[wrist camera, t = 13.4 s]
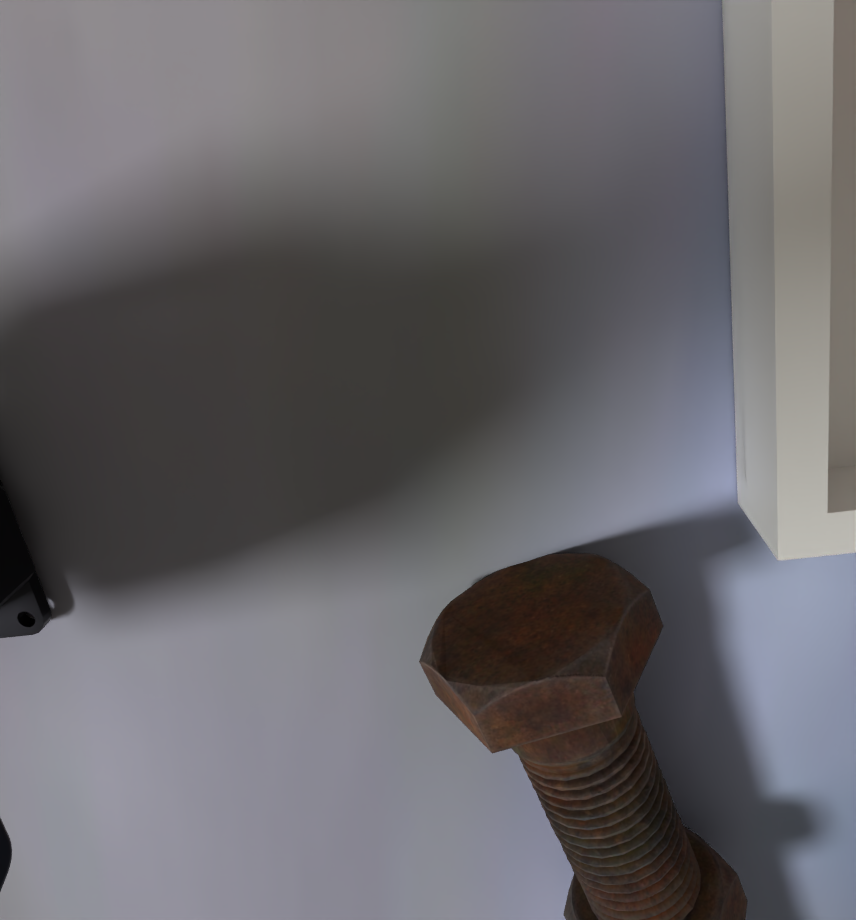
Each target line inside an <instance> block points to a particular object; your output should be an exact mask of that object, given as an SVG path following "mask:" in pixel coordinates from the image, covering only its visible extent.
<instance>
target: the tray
mask: <svg viewBox="0 0 856 920" xmlns="http://www.w3.org/2000/svg"><path fill="white" fill-rule="evenodd" d="M722 14H723V46H724V78H725V110H726V142H727V175H728V207H729V239H730V271H731V303H732V336H733V368H734V400H735V432H736V464H737V496H738V504H739V505H740V507H741V508H742V510H743V511H744V513H745V514H746V515H747V517H748V518H749V520H750V521H751V523H752V524H753V526H754V527H755V528H756V530H757V531H758V533H759V534H760V536H761V537H762V538H763V540H764V541H765V543H766V544H767V546H768V547H769V548H770V550H771V551H772V553H773V554H774V556H775V557H776V559H777V560H778V561H780V560H790V559H799V558H809V557H818V556H828V555H837V554H847V553H856V0H722Z"/></svg>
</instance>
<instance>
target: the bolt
mask: <svg viewBox="0 0 856 920" xmlns="http://www.w3.org/2000/svg"><path fill="white" fill-rule="evenodd" d="M662 628H663V624H662V621H661V619H660V616H659V613H658V611H657V608H656V605H655V603H654V600H653V597H652V595H651V592H650V589H648V588H647V587H646V586H645V585H644V584H642V583H641V582H640V581H639V580H638V579H636V578H635V577H634V576H633V575H632V574H631V573H629V572H628V571H626V570H625V569H623V568H622V567H620V566H619V565H617V564H616V563H614V562H612V561H610V560H608V559H606V558H604V557H602V556H599V555H595V554H588V553H563V554H551V555H545V556H542V557H539V558H536V559H533V560H530V561H527V562H524V563H521V564H517V565H514V566H510V567H507V568H504V569H501V570H499V571H497V572H494V573H493V574H491V575H489V576H487V577H486V578H484V579H482V580H480V581H479V582H477V583H476V584H474V585H473V586H472V587H470V588H469V589H467V590H466V591H465V592H463V593H462V594H460V595H459V596H458V597H456V598H455V599H454V600H452V601H451V602H450V603H449V604H448V605H447V606H446V607H445V608H444V609H443V611H442V612H441V614H440V615H439V617H438V618H437V620H436V621H435V623H434V625H433V627H432V630H431V632H430V634H429V636H428V638H427V641H426V644H425V646H424V649H423V652H422V655H421V658H420V661H419V662H420V664H421V666H422V668H423V670H424V672H425V674H426V676H427V678H428V680H429V682H430V684H431V686H432V688H433V690H434V692H435V694H436V696H437V697H438V698H439V699H440V700H441V701H442V702H443V703H444V704H445V705H446V706H447V707H448V708H449V709H450V710H451V711H452V712H453V713H454V714H455V715H456V716H457V717H458V718H459V719H460V720H461V721H462V722H463V723H464V725H465V726H466V727H467V728H468V729H469V730H470V731H471V732H472V733H473V734H474V735H475V736H476V737H477V738H478V739H479V740H480V741H481V742H482V743H483V744H484V745H485V746H486V747H487V748H488V749H489V750H490V751H491V752H492V753H495V752H499V751H502V750H506V749H509V748H512V749H513V750H514V752H515V753H517V754H518V755H519V758H520V760H521V762H522V764H523V767H524V769H525V771H526V772H527V774H528V777H529V779H530V781H531V782H532V785H533V788H534V789H535V791H536V793H537V795H538V798H539V800H540V802H541V805H542V807H543V809H544V810H545V813H546V816H547V818H548V820H549V821H550V824H551V826H552V828H553V830H554V832H555V834H556V836H557V837H558V839H559V841H560V843H561V845H562V848H563V851H564V852H565V854H566V856H567V859H568V861H569V862H570V864H571V866H572V869H573V871H574V876H573V879H572V882H571V885H570V888H569V892H568V896H567V901H566V906H565V910H564V916H565V918H566V920H745V917H746V907H747V899H746V896H745V893H744V891H743V888H742V885H741V883H740V880H739V878H738V875H737V873H736V872H735V871H734V870H733V869H732V868H731V867H730V866H729V865H728V864H727V863H726V862H725V860H724V859H723V858H722V857H721V856H720V855H719V854H718V853H717V852H716V851H715V850H713V849H712V848H711V847H710V846H709V845H708V844H707V843H706V842H705V841H704V840H703V839H702V838H700V837H699V836H698V835H696V834H695V833H693V832H692V831H691V830H689V829H688V828H686V827H684V826H683V824H682V822H681V819H680V817H679V815H678V813H677V811H676V808H675V806H674V804H673V801H672V798H671V796H670V793H669V790H668V788H667V785H666V782H665V779H664V778H663V776H662V772H661V770H660V768H659V766H658V763H657V760H656V758H655V755H654V752H653V750H652V747H651V744H650V741H649V740H648V737H647V734H646V732H645V730H644V728H643V726H642V723H641V720H640V717H639V714H638V712H637V710H636V707H635V697H634V689H635V687H636V685H637V683H638V681H639V679H640V676H641V674H642V672H643V670H644V668H645V666H646V663H647V661H648V659H649V657H650V655H651V652H652V650H653V648H654V646H655V644H656V641H657V639H658V637H659V635H660V633H661V630H662Z"/></svg>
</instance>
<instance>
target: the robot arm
mask: <svg viewBox="0 0 856 920" xmlns="http://www.w3.org/2000/svg"><path fill="white" fill-rule="evenodd" d="M26 612H29V613H30V614H32V615H33V616H34V618H35V619H32V618H30V617H29V616H28V615H27V614H26ZM50 619H51V610H50V607H49V605H48V602H47V600H46V597H45V594H44V592H43V589H42V587H41V584H40V581H39V579H38V576H37V574H36V571H35V567H34V564H33V561H32V559H31V556H30V554H29V551H28V548H27V546H26V543H25V541H24V538H23V535H22V533H21V530H20V528H19V525H18V522H17V520H16V517H15V515H14V512H13V509H12V507H11V504H10V502H9V499H8V496H7V494H6V491H5V490H4V488H3V485H2V483H1V480H0V638H6V637H15V636H25V635H33V634H36V633H39V632H40V631H41V630H42V629H43V628H44V627H45V626H46V624H47V623H48V622H49V621H50ZM11 858H12V847H11V841H10V838H9V835H8V833H7V831H6V829H5V827H4V825H3V822H2V820H1V818H0V891H1V889H2V886H3V884H4V881H5V878H6V876H7V873H8V871H9V867H10V863H11Z"/></svg>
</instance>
